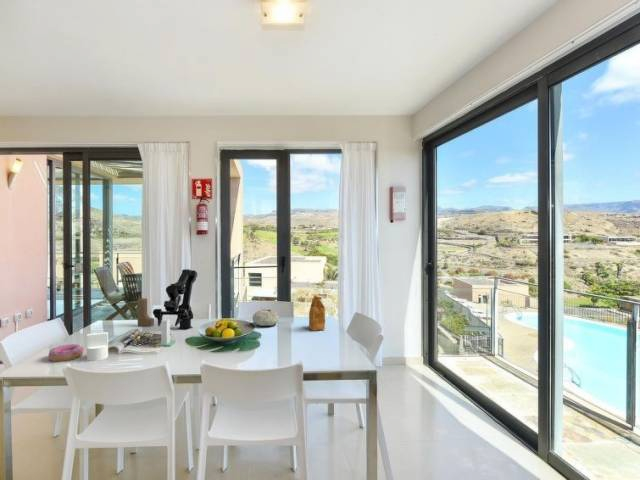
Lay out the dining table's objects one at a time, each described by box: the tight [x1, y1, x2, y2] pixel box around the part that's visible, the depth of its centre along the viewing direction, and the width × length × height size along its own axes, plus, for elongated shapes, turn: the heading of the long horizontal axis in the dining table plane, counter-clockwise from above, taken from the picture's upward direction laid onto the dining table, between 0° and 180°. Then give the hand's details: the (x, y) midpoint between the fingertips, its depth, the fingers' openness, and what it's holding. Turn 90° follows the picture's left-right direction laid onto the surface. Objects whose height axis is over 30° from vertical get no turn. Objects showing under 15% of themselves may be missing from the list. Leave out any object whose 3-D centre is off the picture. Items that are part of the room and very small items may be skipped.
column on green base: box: [155, 318, 176, 348], centre depth 199 cm, size 8×8×14 cm
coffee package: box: [308, 294, 326, 332], centre depth 234 cm, size 10×12×22 cm
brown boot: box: [137, 297, 155, 327], centre depth 239 cm, size 9×4×18 cm, turn 92°
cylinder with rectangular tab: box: [86, 331, 109, 362], centre depth 178 cm, size 9×9×12 cm
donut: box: [48, 343, 84, 362], centre depth 178 cm, size 14×14×5 cm
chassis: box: [129, 331, 157, 345], centre depth 204 cm, size 12×12×4 cm
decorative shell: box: [252, 308, 280, 327], centre depth 243 cm, size 18×18×10 cm
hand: (167, 326), depth 201 cm, fingers open, 9 cm apart
